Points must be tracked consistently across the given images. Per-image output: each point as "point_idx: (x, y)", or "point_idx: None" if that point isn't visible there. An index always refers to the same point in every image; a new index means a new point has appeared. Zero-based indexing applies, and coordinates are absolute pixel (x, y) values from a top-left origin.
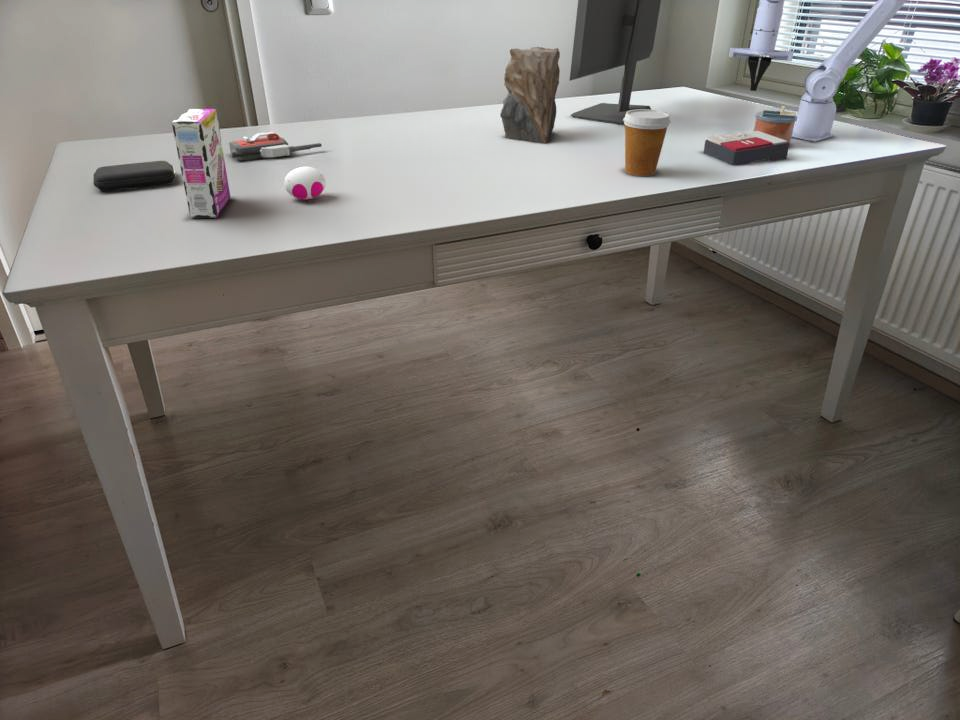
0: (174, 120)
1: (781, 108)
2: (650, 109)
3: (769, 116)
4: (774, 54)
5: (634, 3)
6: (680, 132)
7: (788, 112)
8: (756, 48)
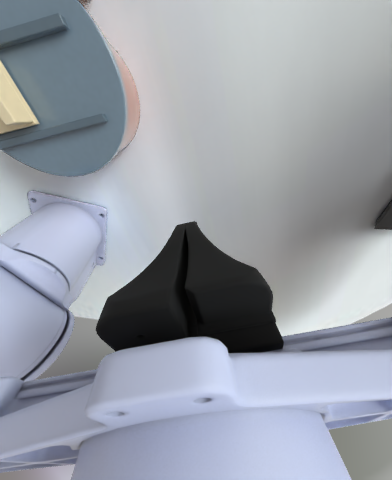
0: None
1: (20, 116)
2: (383, 225)
3: (30, 18)
4: (45, 412)
5: None
6: (330, 85)
7: (6, 129)
8: (268, 469)
